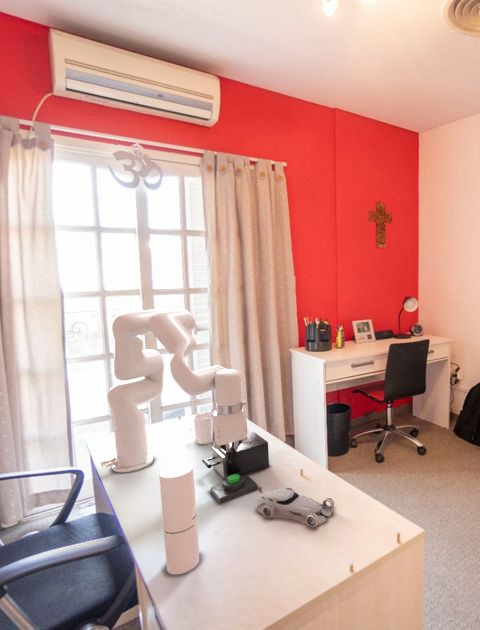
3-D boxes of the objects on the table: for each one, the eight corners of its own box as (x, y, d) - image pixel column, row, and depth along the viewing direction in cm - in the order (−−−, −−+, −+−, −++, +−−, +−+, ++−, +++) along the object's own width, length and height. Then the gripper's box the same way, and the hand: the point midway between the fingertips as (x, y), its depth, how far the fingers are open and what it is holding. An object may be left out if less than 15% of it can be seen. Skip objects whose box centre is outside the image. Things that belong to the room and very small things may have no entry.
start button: (230, 485, 135) (229, 480, 135) (226, 481, 138) (226, 476, 138) (241, 482, 138) (241, 477, 137) (237, 477, 140) (237, 473, 140)
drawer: (210, 483, 141) (209, 461, 140) (200, 471, 149) (199, 450, 148) (262, 466, 153) (261, 445, 152) (250, 455, 161) (249, 436, 160)
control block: (220, 503, 131) (219, 493, 130) (210, 491, 137) (210, 481, 137) (257, 489, 139) (257, 479, 139) (247, 479, 145) (246, 469, 145)
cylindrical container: (204, 553, 108) (198, 463, 105) (190, 574, 101) (183, 477, 98) (176, 554, 108) (169, 463, 105) (160, 574, 101) (152, 478, 98)
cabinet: (228, 480, 144) (226, 454, 143) (216, 467, 153) (214, 443, 152) (269, 466, 154) (268, 442, 153) (255, 455, 163) (254, 431, 162)
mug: (191, 441, 175) (189, 416, 174) (211, 434, 182) (210, 410, 181) (205, 449, 168) (204, 422, 167) (226, 441, 175) (225, 416, 174)
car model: (317, 530, 118) (317, 514, 117) (248, 513, 126) (247, 497, 125) (337, 508, 128) (337, 493, 128) (272, 494, 136) (271, 479, 136)
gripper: (247, 399, 142) (249, 450, 145) (200, 410, 132) (203, 464, 135) (256, 405, 137) (258, 458, 139) (208, 417, 127) (211, 473, 129)
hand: (231, 461), depth 137 cm, fingers closed
